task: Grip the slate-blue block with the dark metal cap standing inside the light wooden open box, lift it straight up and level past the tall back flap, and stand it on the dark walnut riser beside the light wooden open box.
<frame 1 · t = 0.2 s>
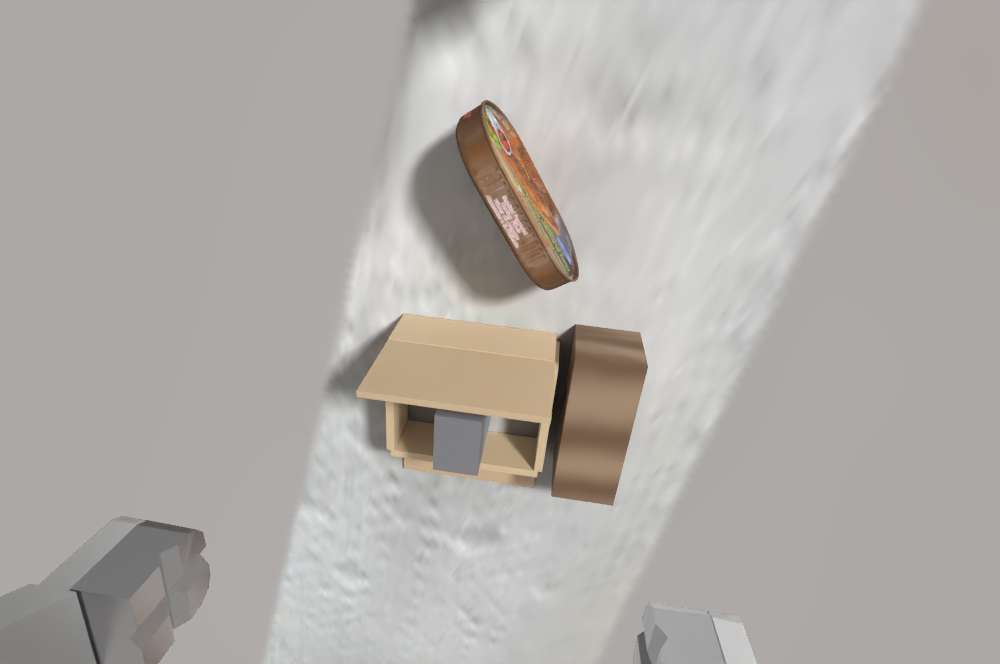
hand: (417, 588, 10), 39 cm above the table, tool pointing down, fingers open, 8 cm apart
riser: (593, 398, 54), on the table
light wooden open box: (475, 382, 55), on the table
capped block: (466, 411, 51), in the light wooden open box
tin: (525, 187, 45), on the table
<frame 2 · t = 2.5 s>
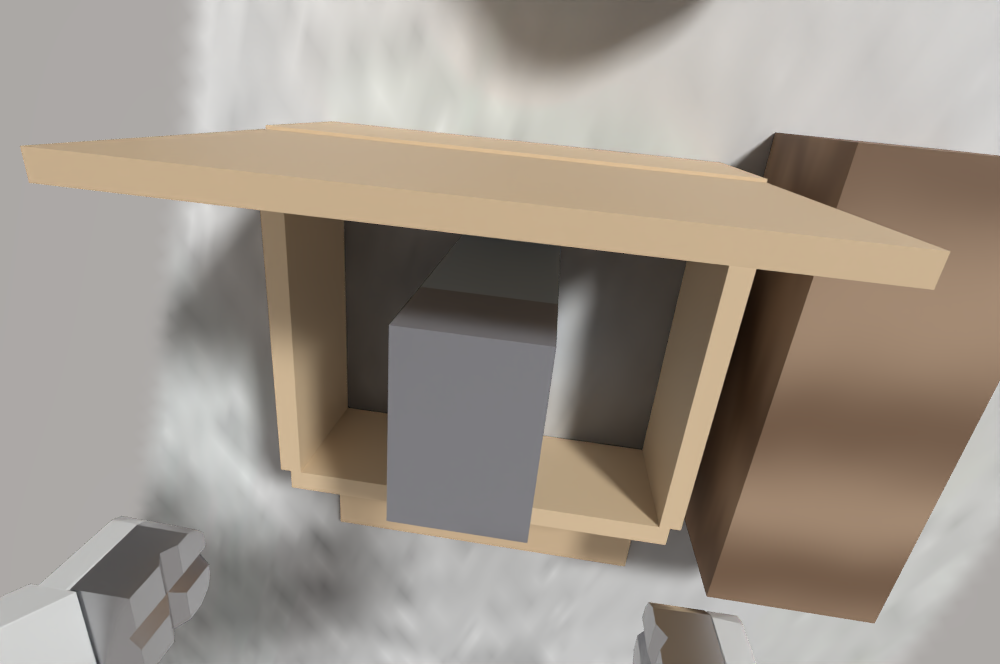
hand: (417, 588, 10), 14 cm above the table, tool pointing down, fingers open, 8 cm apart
riser: (793, 346, 22), on the table
light wooden open box: (504, 309, 23), on the table
capped block: (489, 359, 18), in the light wooden open box
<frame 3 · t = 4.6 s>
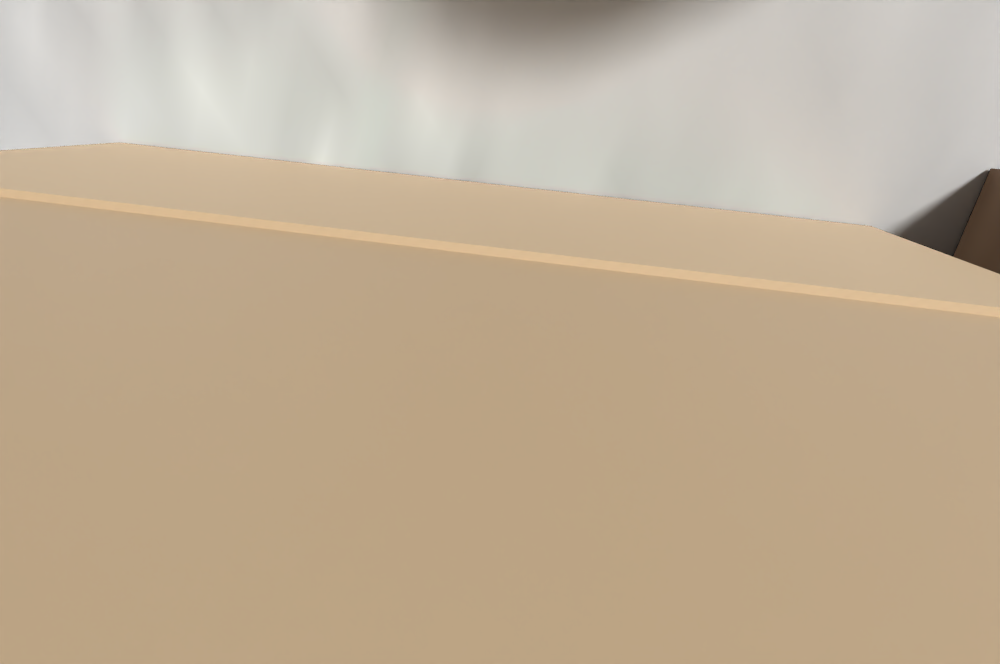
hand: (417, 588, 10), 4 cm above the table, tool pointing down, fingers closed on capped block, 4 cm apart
riser: (973, 546, 12), on the table
light wooden open box: (455, 469, 13), on the table
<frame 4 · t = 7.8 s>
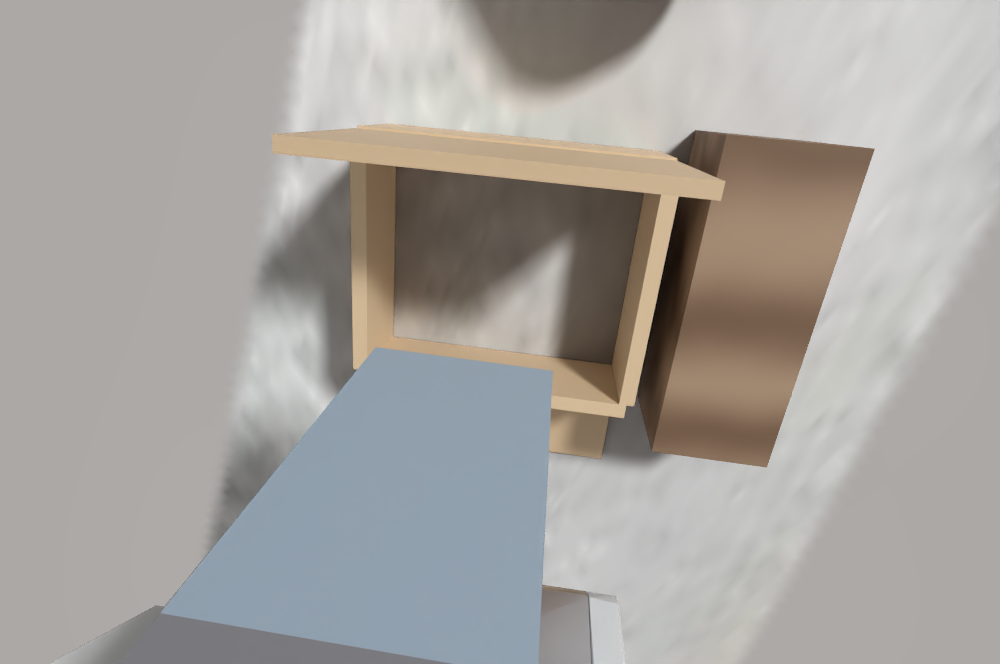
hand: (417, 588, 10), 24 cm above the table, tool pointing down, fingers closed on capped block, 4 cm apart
riser: (716, 282, 31), on the table
light wooden open box: (510, 258, 32), on the table
capped block: (395, 661, 9), point 25 cm above the table, touching gripper
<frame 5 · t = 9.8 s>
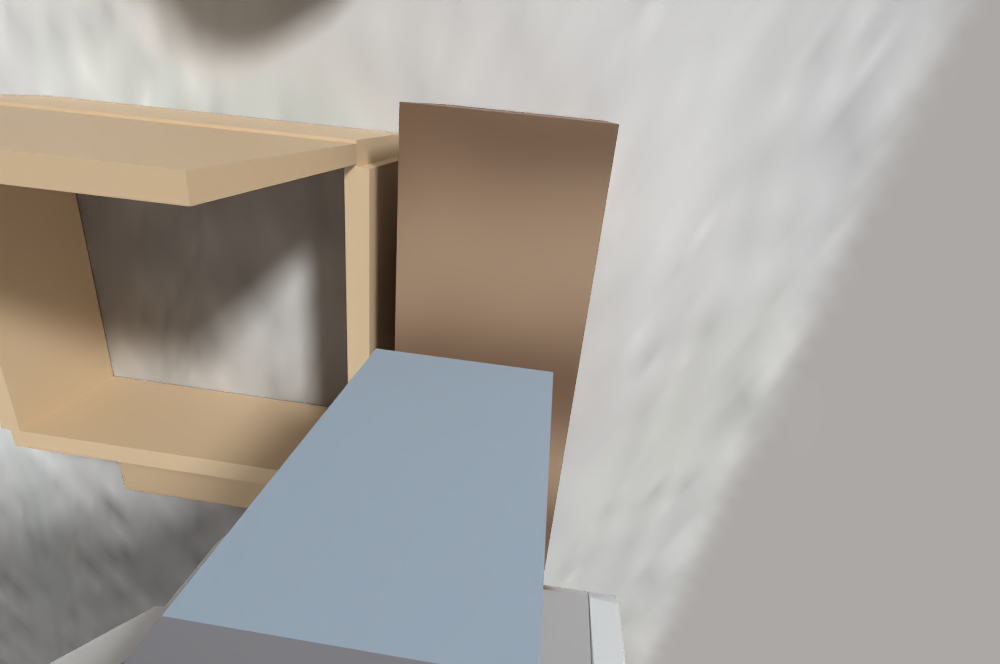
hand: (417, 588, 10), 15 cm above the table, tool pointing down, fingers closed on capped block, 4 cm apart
riser: (503, 312, 23), on the table
light wooden open box: (236, 278, 24), on the table
capped block: (396, 663, 9), point 16 cm above the table, touching gripper
when the fingers open (11 cm above the table, at t = 11.2 s): capped block drops 1 cm, resting on riser.
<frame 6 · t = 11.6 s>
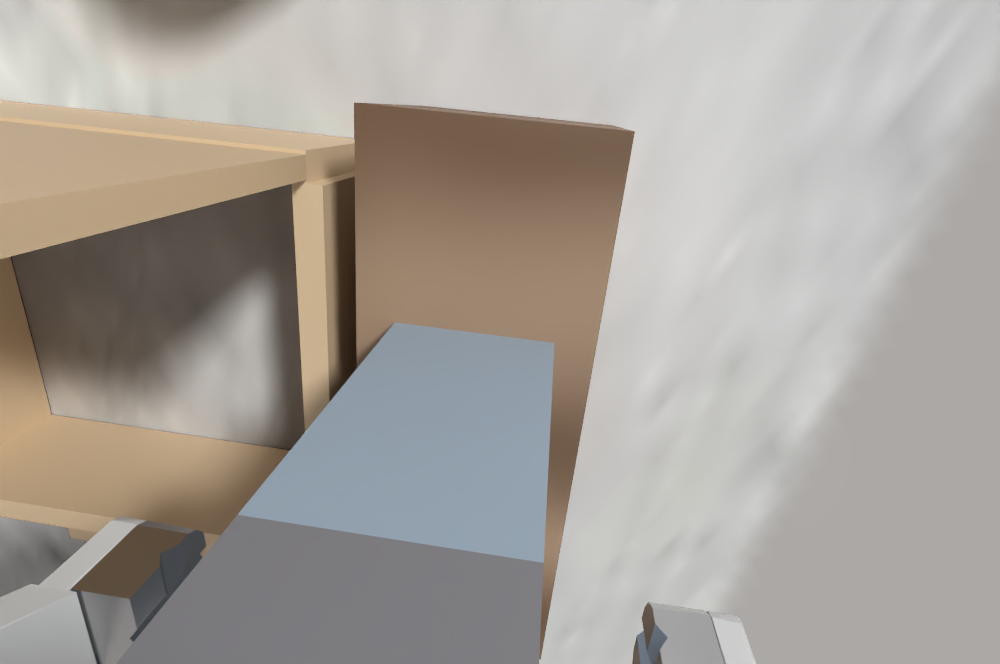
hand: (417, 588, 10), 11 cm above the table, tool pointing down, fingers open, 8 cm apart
riser: (493, 347, 20), on the table
light wooden open box: (185, 306, 21), on the table
capped block: (418, 585, 10), on the riser, point 11 cm above the table
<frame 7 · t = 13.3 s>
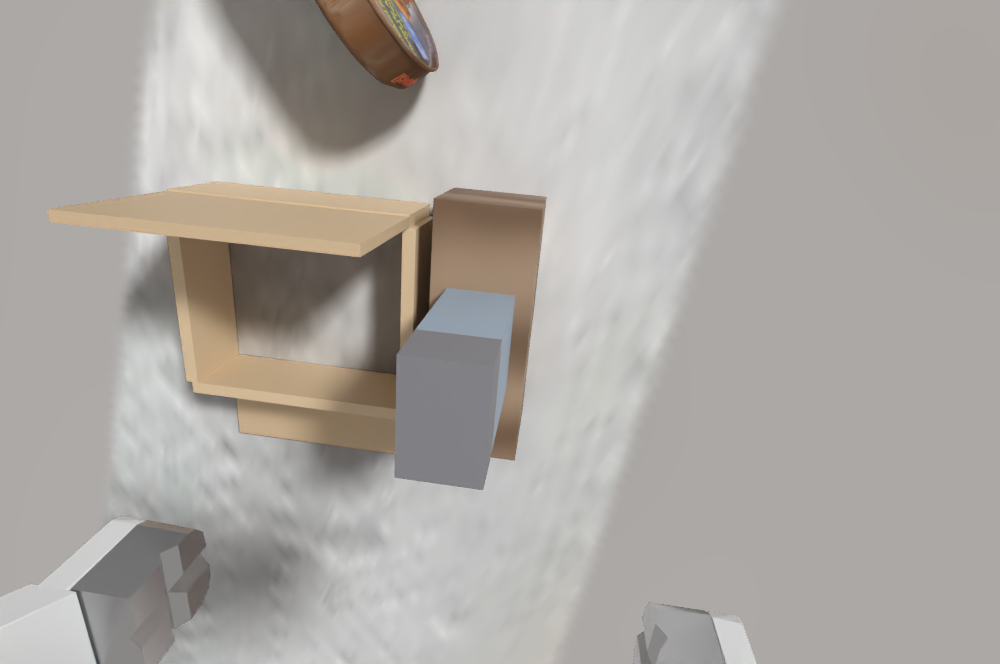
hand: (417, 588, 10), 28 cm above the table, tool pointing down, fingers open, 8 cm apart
riser: (490, 309, 38), on the table
light wooden open box: (324, 289, 39), on the table
capped block: (462, 375, 28), on the riser, point 11 cm above the table
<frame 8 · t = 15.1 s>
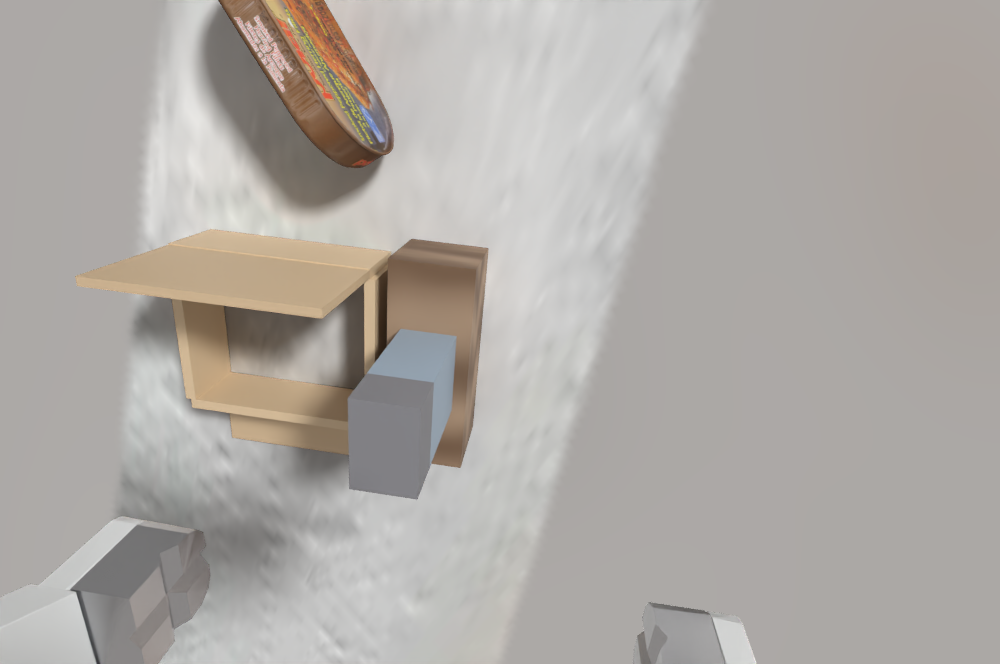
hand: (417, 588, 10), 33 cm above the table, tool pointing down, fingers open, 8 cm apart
riser: (444, 338, 45), on the table
light wooden open box: (303, 319, 45), on the table
capped block: (408, 405, 34), on the riser, point 11 cm above the table
tin: (334, 58, 38), on the table
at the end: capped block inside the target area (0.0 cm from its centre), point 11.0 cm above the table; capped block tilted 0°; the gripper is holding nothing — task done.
